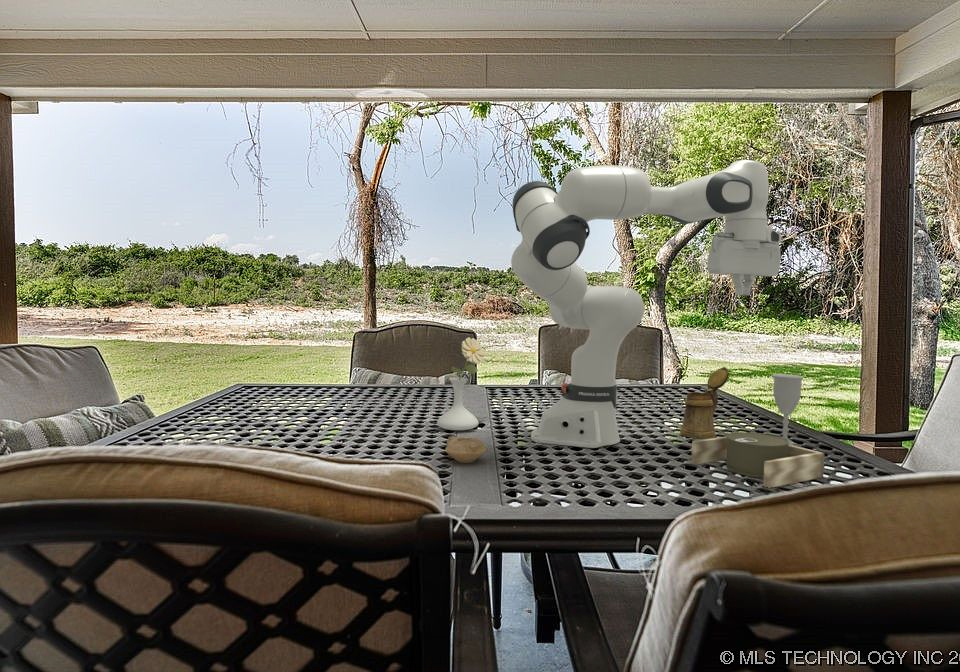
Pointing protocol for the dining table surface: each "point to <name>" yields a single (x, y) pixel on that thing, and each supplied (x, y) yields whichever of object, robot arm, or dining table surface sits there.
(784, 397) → the chalice
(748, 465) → the can
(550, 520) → the dining table surface
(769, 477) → the box
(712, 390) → the wooden mug
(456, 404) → the flower in vase
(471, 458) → the pottery oil lamp
